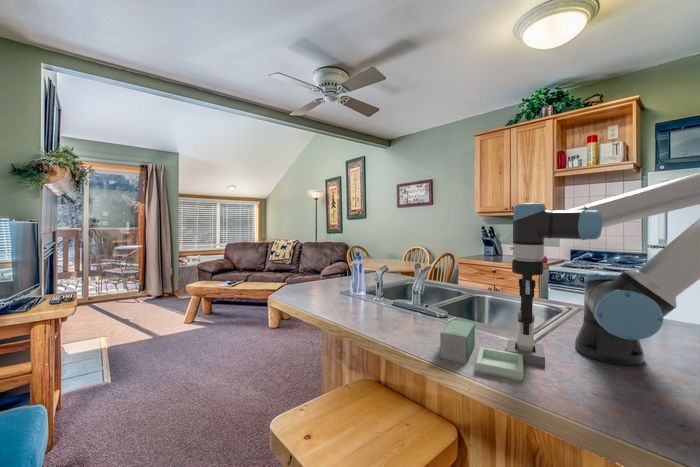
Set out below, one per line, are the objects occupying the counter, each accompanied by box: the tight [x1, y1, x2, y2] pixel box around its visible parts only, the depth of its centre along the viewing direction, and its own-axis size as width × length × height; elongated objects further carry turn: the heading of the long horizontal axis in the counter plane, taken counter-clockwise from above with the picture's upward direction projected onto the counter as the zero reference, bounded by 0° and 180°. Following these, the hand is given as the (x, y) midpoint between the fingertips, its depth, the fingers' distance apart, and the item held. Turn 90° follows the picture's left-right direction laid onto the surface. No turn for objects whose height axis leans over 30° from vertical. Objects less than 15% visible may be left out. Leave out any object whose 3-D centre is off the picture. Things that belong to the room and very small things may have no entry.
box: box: [439, 319, 476, 364], centre depth 93 cm, size 7×14×8 cm, turn 150°
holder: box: [506, 338, 546, 368], centre depth 89 cm, size 9×9×2 cm
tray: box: [475, 346, 524, 383], centre depth 83 cm, size 10×10×2 cm
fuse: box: [516, 311, 535, 352], centre depth 89 cm, size 4×4×12 cm
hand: (525, 341), depth 89 cm, fingers closed on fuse, 4 cm apart
